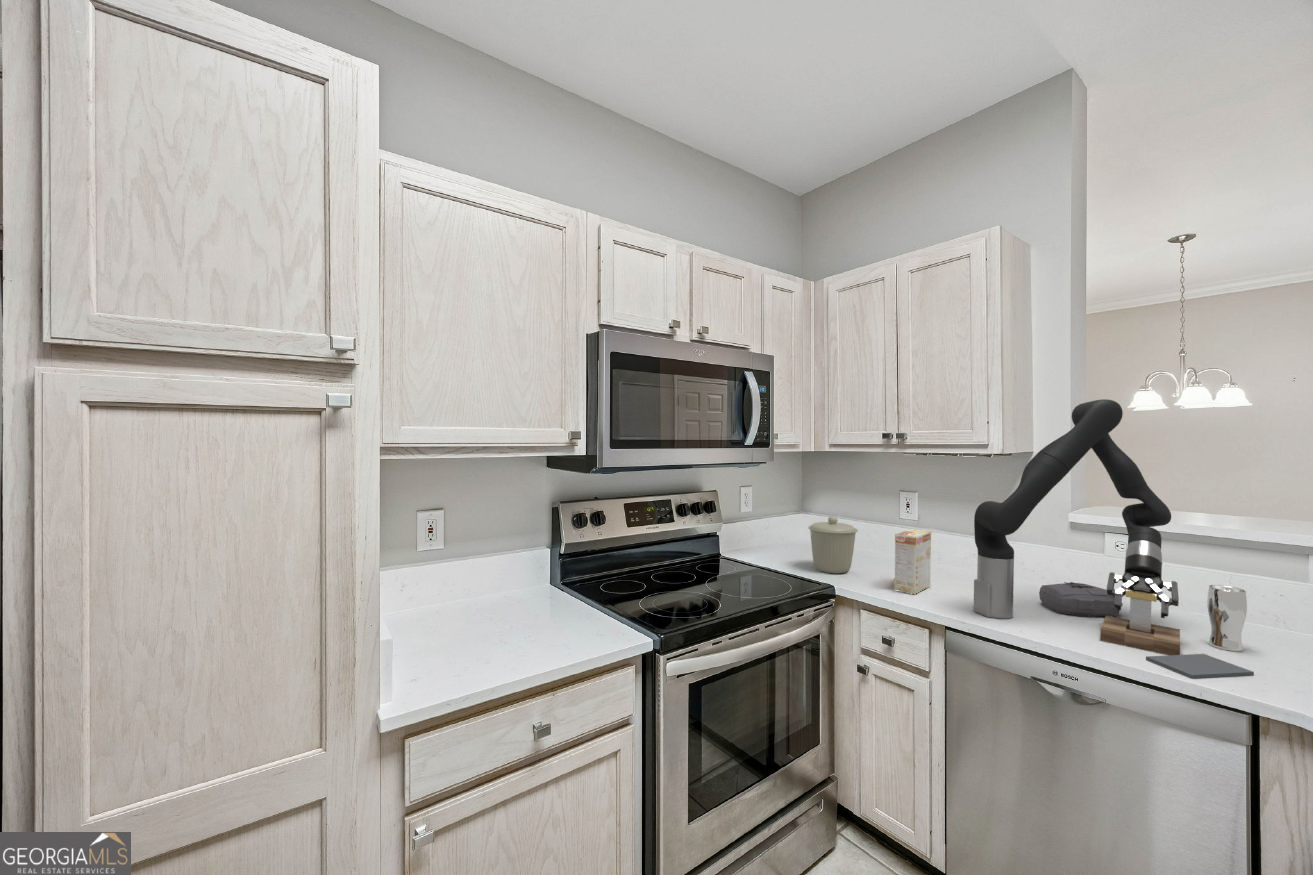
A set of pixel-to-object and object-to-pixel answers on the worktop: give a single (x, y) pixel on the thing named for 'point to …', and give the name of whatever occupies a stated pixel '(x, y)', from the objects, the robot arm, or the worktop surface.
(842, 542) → the canister
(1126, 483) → the robot arm
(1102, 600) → the grey rounded bag
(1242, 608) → the beer glass
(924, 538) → the coffeecake box
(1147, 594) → the t key
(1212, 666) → the slate mat
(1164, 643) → the socket block
